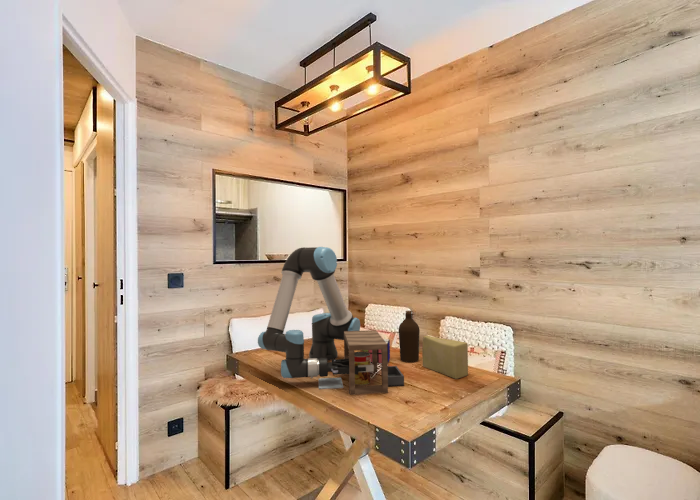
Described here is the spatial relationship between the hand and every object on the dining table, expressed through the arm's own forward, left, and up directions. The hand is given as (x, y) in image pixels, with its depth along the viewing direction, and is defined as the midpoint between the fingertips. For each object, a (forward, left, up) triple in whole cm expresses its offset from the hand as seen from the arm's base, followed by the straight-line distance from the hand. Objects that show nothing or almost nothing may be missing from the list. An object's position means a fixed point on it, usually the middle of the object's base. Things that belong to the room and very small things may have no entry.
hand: (371, 365), depth 159 cm
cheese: (-20, +29, -7) cm, 36 cm away
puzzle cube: (-31, -3, -7) cm, 32 cm away
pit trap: (-3, +8, -7) cm, 11 cm away
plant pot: (-49, -13, -7) cm, 51 cm away
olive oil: (-35, +12, -7) cm, 38 cm away
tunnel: (+1, -3, -7) cm, 8 cm away
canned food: (+2, -5, -7) cm, 9 cm away
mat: (+6, -17, -7) cm, 19 cm away
